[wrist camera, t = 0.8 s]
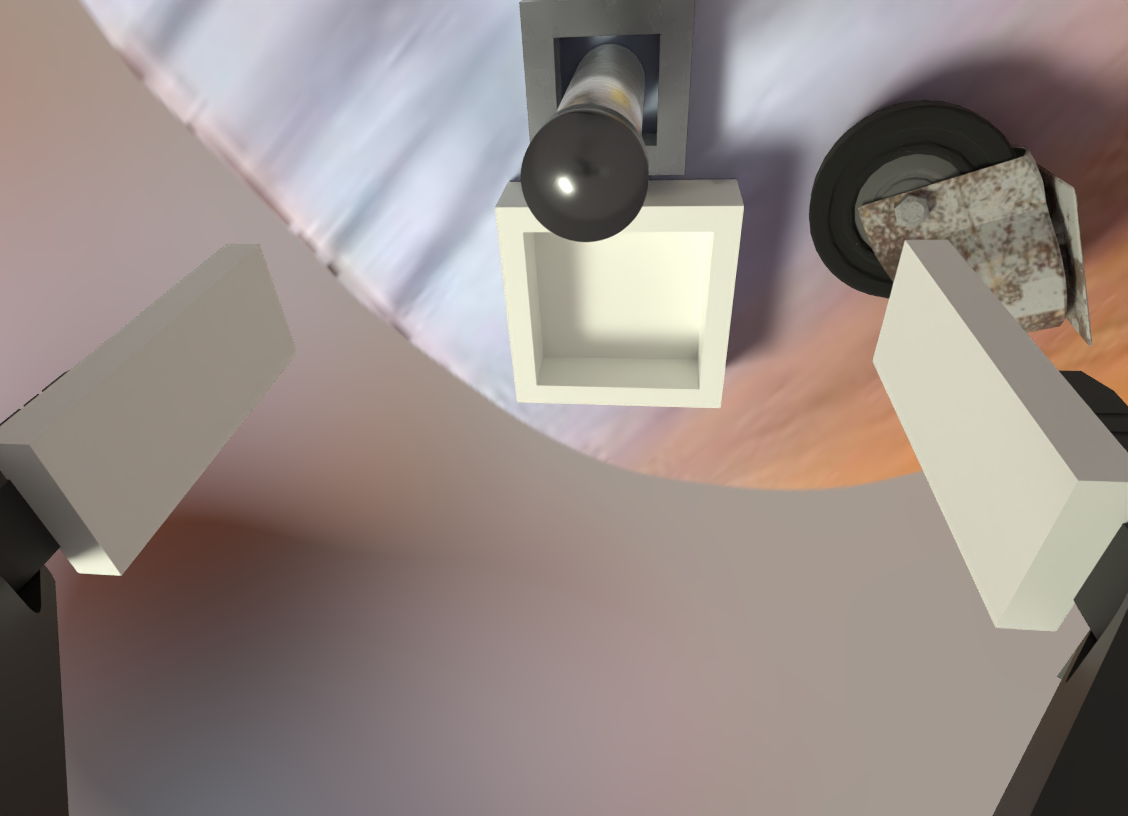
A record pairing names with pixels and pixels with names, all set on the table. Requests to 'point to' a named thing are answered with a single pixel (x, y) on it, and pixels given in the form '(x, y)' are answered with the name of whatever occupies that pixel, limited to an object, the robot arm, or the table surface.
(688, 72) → the pin socket
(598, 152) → the pin
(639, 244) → the tray
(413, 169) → the table surface
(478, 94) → the table surface
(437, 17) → the table surface
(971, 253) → the caster wheel
